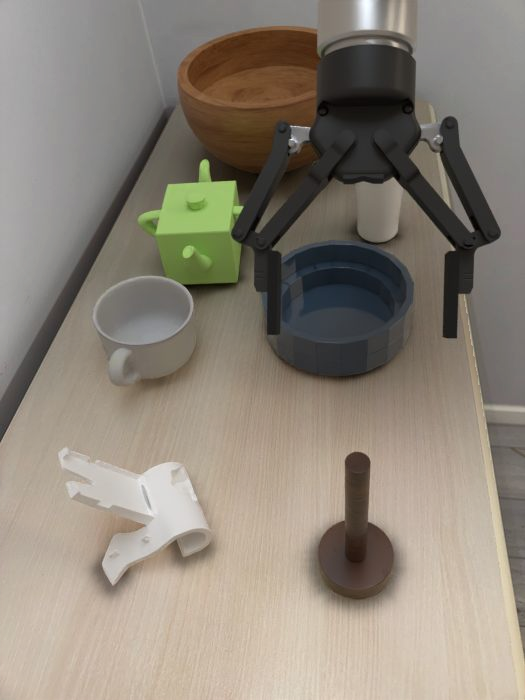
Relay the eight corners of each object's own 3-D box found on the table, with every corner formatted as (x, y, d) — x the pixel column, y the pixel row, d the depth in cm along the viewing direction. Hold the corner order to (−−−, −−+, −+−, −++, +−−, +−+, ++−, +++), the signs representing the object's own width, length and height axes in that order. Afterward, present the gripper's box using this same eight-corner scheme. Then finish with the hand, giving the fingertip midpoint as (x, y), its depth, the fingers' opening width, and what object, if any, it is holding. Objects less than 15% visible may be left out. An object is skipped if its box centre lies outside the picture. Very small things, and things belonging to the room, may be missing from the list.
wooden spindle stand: (403, 546, 59) (417, 442, 48) (376, 612, 56) (384, 517, 44) (336, 519, 62) (333, 413, 50) (306, 580, 58) (296, 481, 46)
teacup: (143, 314, 83) (127, 264, 77) (220, 336, 79) (210, 286, 73) (76, 396, 75) (53, 348, 69) (158, 426, 71) (141, 377, 65)
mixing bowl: (429, 298, 80) (434, 259, 76) (378, 399, 71) (380, 362, 66) (303, 265, 86) (300, 227, 82) (240, 354, 77) (234, 316, 72)
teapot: (214, 217, 95) (203, 149, 87) (284, 254, 88) (279, 184, 80) (131, 273, 88) (110, 206, 80) (199, 318, 81) (184, 249, 74)
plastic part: (214, 545, 61) (195, 477, 53) (109, 589, 59) (71, 526, 51) (188, 479, 66) (167, 408, 57) (90, 518, 64) (52, 450, 55)
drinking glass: (351, 216, 92) (352, 114, 81) (402, 216, 91) (409, 112, 80) (351, 248, 88) (351, 145, 77) (404, 248, 87) (412, 143, 76)
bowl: (222, 114, 115) (209, 23, 103) (369, 122, 108) (371, 26, 97) (170, 201, 99) (147, 104, 88) (338, 216, 93) (337, 114, 81)
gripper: (524, 70, 54) (515, 337, 55) (216, 81, 57) (213, 332, 58) (550, 31, 46) (539, 341, 47) (195, 46, 50) (192, 334, 51)
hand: (359, 336), depth 53 cm, fingers open, 13 cm apart
